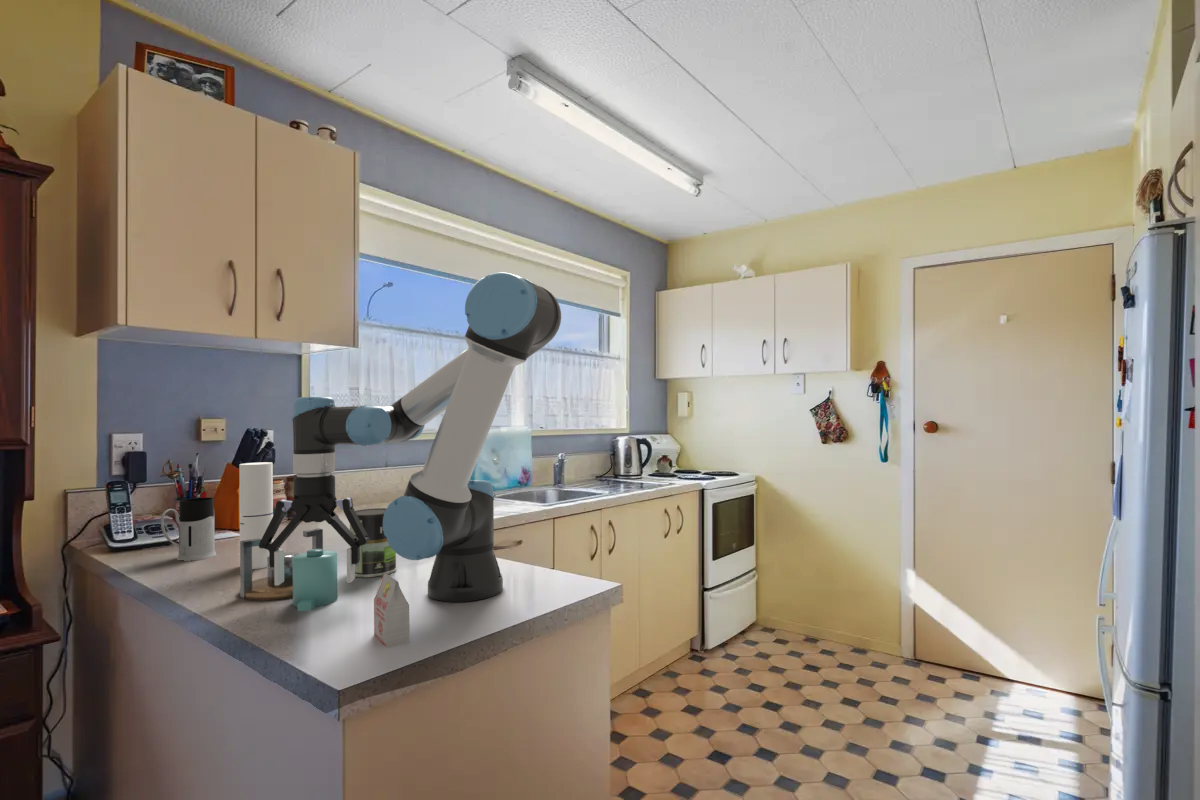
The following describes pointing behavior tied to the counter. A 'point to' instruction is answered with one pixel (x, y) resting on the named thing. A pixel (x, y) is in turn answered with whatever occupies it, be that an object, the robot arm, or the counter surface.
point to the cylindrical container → (256, 506)
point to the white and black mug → (194, 529)
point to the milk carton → (391, 613)
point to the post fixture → (270, 571)
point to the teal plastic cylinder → (314, 579)
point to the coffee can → (374, 546)
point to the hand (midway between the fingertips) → (315, 582)
